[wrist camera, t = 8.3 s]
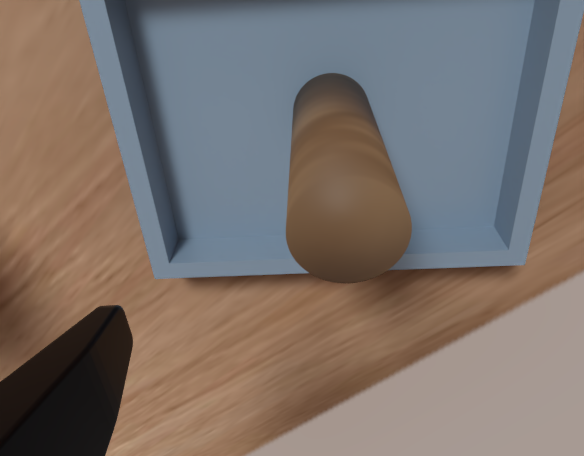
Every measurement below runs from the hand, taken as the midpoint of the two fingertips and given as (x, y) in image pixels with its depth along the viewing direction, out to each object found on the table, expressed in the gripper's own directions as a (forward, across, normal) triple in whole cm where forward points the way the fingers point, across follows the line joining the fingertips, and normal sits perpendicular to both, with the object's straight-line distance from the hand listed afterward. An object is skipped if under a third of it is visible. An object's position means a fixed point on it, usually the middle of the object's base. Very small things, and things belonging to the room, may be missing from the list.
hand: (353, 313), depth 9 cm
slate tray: (+12, 0, 0) cm, 12 cm away
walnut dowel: (+12, 0, 0) cm, 12 cm away
